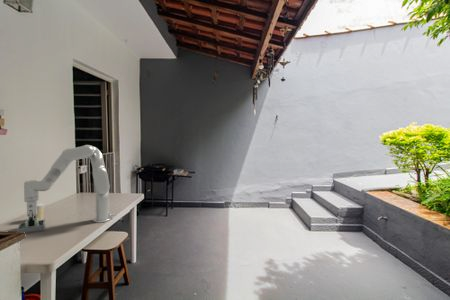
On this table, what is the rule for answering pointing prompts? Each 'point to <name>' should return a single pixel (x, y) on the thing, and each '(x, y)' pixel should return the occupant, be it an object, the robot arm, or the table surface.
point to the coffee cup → (40, 211)
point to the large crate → (32, 229)
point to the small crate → (34, 223)
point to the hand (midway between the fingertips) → (32, 223)
